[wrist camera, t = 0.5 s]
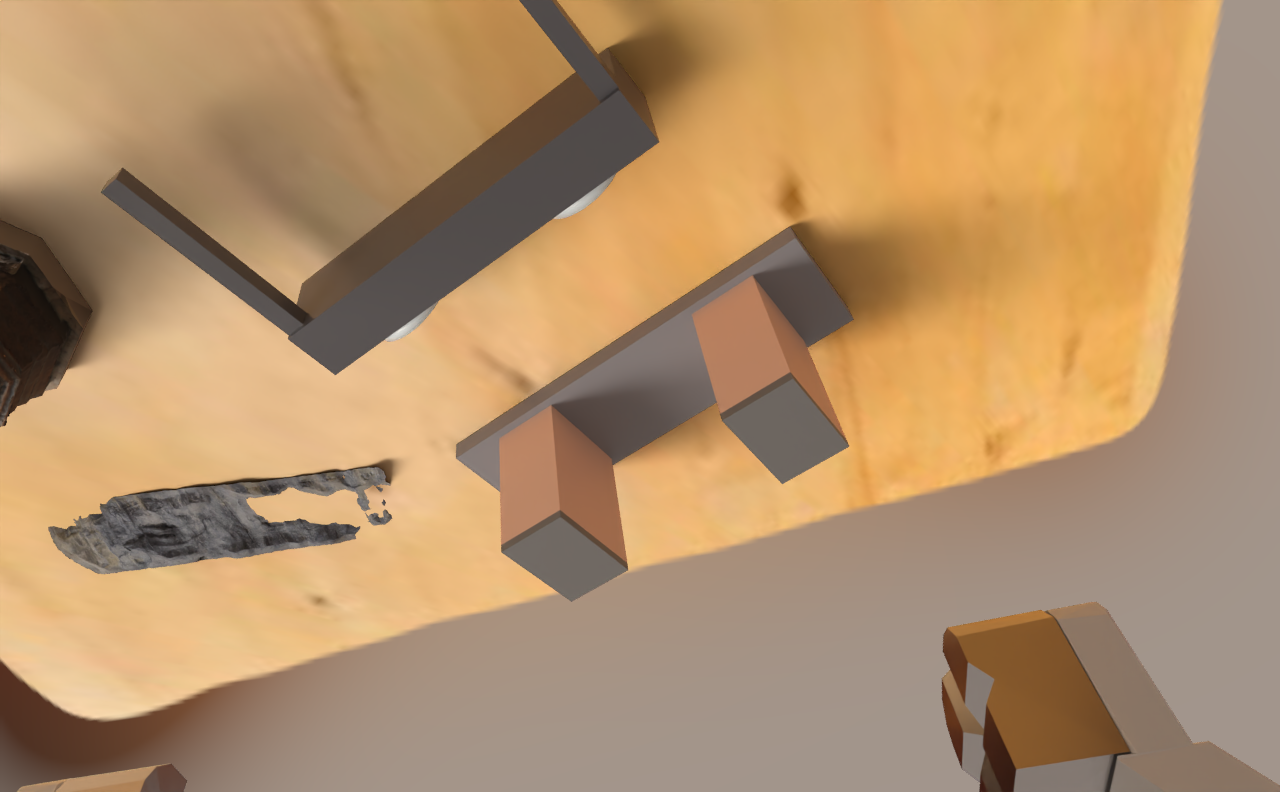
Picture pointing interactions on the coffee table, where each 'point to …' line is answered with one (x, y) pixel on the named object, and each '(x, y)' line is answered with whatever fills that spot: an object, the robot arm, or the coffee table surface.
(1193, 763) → the robot arm
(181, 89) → the coffee table surface
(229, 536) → the driftwood
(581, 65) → the glasses
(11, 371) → the bird statue
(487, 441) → the stand
